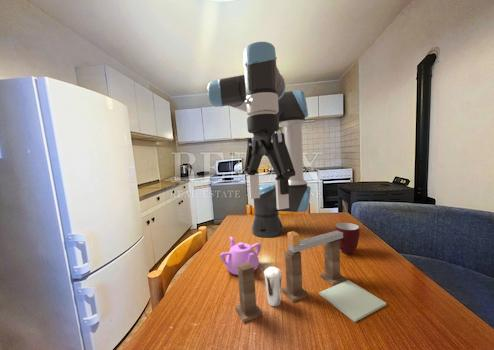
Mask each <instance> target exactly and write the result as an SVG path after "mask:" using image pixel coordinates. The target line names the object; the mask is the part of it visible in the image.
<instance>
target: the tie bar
mask: <svg viewBox="0 0 494 350" xmlns="http://www.w3.org/2000/svg"><path fill="white" fill-rule="evenodd" d="M286 236H287V250H289V251H291V252H293V253H296V252H302V251H305V250H309V249H312V248H315V247H318V246H321V245H324V244H325V243H328V242H332V241H335V240H338V239H341V238H343V233H342V232H340V231H337V230H336V231H335V230H332V231H330V232H326V233H322V234H319V235H314V236H312V237H307V238H305V239H301V240H300V233H298V232H296V231H294V230H292V231H288V232H287V235H286Z"/></svg>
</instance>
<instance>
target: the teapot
mask: <svg viewBox="0 0 494 350" xmlns="http://www.w3.org/2000/svg"><path fill="white" fill-rule="evenodd" d="M228 238H229V240H230V248H229V251H224V252H221V253H220V254H219V257H220V260H221V261H222V263H223V264H224V265H225V268H226V270H227V271H228V272H229V273H230V274H232V275H235V276H238V266H237V265H239V264H243V263H246V262H249V263H250V264H251V265H252V266H253V267H254V272H255V271H256V270H257V269H258V268H259V265H260V261H259V257H258V256H259V253H260V251H261V248H262V244H261V243H260V242H256V243H254V244H252V245H250V244H249V243H244V242H242V241H240V242H238V243H235V240H234V237H232V236H231V235H229V237H228ZM254 248H256V250H255V249H254Z"/></svg>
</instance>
